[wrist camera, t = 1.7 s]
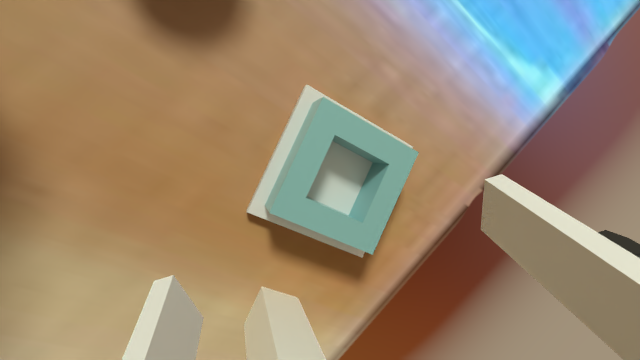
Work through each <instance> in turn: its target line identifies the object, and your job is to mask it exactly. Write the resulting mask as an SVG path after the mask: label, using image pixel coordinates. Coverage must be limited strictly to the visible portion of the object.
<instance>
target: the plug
mask: <svg viewBox="0 0 640 360" xmlns="http://www.w3.org/2000/svg"><path fill="white" fill-rule="evenodd" d="M244 331H245V344H246V357H247V360H326V358H325V356H324V354H323V352H322V350H321V347H320V345H319V343H318V341H317V339H316V336H315V334H314V332H313V330H312V328H311V325H310V323H309V321H308V319H307V316H306V314H305V312H304V310H303V308H302V305H301V303H300V301H299V299H298V298H297V297H294V296H291V295H288V294H284V293H281V292H278V291H275V290H272V289H268V288H265V287H261V289H260V291H259V293H258V295H257V297H256V299H255V302H254V304H253V306H252V308H251V310H250V312H249V315H248V317H247V319H246V321H245V323H244Z"/></svg>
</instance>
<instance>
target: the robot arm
mask: <svg viewBox="0 0 640 360" xmlns="http://www.w3.org/2000/svg"><path fill="white" fill-rule="evenodd" d="M481 230H482V231H483V232H484V233H485V234H486V235H487V236H489V237H490V238H491V239H492V240H493V241H494V242H495V243H496V244H497V245H498V246H499V247H501V248H502V249H503V250H504V251H505V252H506V253H507V254H508V255H509V256H510V257H512V258H513V259H514V260H515V261H516V262H517V263H518V264H519V265H520V266H521V267H523V268H524V269H525V270H526V271H527V272H528V273H529V274H530V275H531V276H532V277H533V278H534V279H536V280H537V281H538V282H539V283H540V284H541V285H542V286H543V287H544V288H545V289H547V290H548V291H549V292H550V293H551V294H552V295H553V296H554V297H555V298H556V299H558V300H559V301H560V302H561V303H562V304H563V305H564V306H565V307H566V308H567V309H569V311H571V312H572V313H573V314H574V315H575V316H576V317H577V318H578V319H579V320H580V321H582V322H583V323H584V324H585V325H586V326H587V327H588V328H589V329H590V330H591V331H592V332H594V333H595V334H596V335H597V336H598V337H599V338H600V339H601V340H602V341H604V342H605V343H606V344H607V345H608V346H609V347H610V348H611V349H612V350H613V351H614V352H615V353H617V354H618V355H619V356H620V357H621V358H622V359H623V360H640V244H638V243H636V242H635V241H633V240H631V239H629V238H627V237H624V236H621V235H618V234H615V233H613V232H610V231H607V230H604V231H601V232H598V233H597V232H596V231H594V230H592V229H591V228H589V227H588V226H586V225H584V224H583V223H581V222H579V221H577V220H576V219H574V218H573V217H571V216H569V215H568V214H566V213H565V212H563V211H561V210H560V209H558V208H556V207H555V206H553V205H551V204H550V203H548V202H546V201H545V200H543V199H542V198H540V197H538V196H537V195H535V194H533V193H532V192H530V191H528V190H527V189H525V188H523V187H522V186H520V185H519V184H517V183H515V182H514V181H512V180H510V179H509V178H507V177H505V176H504V175H502V174H501V175H498V176H495V177H492V178H488V179H485V183H484V196H483V209H482V222H481ZM202 322H203V316H202V315H201V313H200V312H199V310H198V309H197V308H196V306H195V305H194V303H193V302H192V300H191V299H190V298H189V296H188V295H187V293H186V292H185V291H184V289H183V288H182V286H181V285H180V284H179V282H178V281H177V279H176V278H175V276H174V275H172V276H169V277H165V278H162V279H159V280H156V281H154V282H153V285H152V287H151V290H150V292H149V295H148V297H147V300H146V302H145V304H144V307H143V309H142V312H141V314H140V317H139V319H138V321H137V324H136V326H135V329H134V331H133V334H132V336H131V339H130V341H129V343H128V346H127V348H126V351H125V353H124V356H123V358H122V360H195V359H196V354H197V349H198V343H199V338H200V333H201V327H202Z"/></svg>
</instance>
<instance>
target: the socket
mask: <svg viewBox="0 0 640 360" xmlns="http://www.w3.org/2000/svg"><path fill="white" fill-rule="evenodd" d="M418 153H419V152H417V151H415V150H414V149H412V146H411V145H409V144H407V143H406V142H404V141H402V140H401V139H399V138H397V137H395V136H394V135H392V134H390V133H389V132H387V131H385V130H383V129H382V128H380V127H378V126H377V125H375V124H373V123H372V122H370V121H368V120H366V119H365V118H363V117H361V116H360V115H358V114H356V113H354V112H353V111H351V110H349V109H348V108H346V107H344V106H343V105H341V104H339V103H337V102H336V101H334V100H332V99H331V98H329V97H327V96H325V95H324V94H322V93H320V92H319V91H317V90H315V89H314V88H312V87H310V86H308V85H306V86H304V88H303V90H302V93H301V95H300V97H299V99H298V101H297V103H296V105H295V108H294V110H293V112H292V114H291V116H290V118H289V120H288V122H287V125H286V127H285V129H284V131H283V133H282V135H281V137H280V140H279V142H278V144H277V146H276V148H275V150H274V152H273V154H272V157H271V159H270V161H269V163H268V165H267V167H266V169H265V172H264V174H263V176H262V178H261V180H260V182H259V184H258V186H257V189H256V191H255V193H254V195H253V197H252V199H251V201H250V204H249V206H248V208H247V212H248V213H250V214H253V215H255V216H258V217H260V218H263V219H265V220H268V221H270V222H273V223H275V224H278V225H280V226H283V227H286V228H288V229H291V230H293V231H296V232H298V233H301V234H303V235H306V236H308V237H311V238H313V239H316V240H318V241H321V242H323V243H326V244H329V245H331V246H334V247H336V248H339V249H341V250H344V251H346V252H349V253H351V254H354V255H356V256H359V257H361V258H363V255H364V253H365V252H367V253H370V254H373V252H374V250H375V248H376V246H377V243H378V241H379V239H380V237H381V235H382V232H383V230H384V228H385V226H386V224H387V221H388V219H389V217H390V215H391V212H392V210H393V208H394V206H395V204H396V201H397V199H398V197H399V195H400V193H401V190H402V188H403V186H404V184H405V182H406V179H407V177H408V175H409V173H410V170H411V168H412V166H413V164H414V162H415V159H416V157H417V155H418Z"/></svg>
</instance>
